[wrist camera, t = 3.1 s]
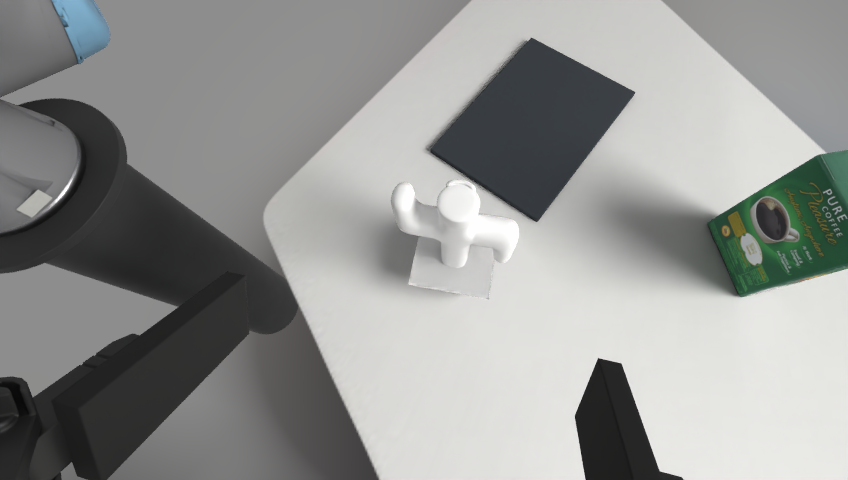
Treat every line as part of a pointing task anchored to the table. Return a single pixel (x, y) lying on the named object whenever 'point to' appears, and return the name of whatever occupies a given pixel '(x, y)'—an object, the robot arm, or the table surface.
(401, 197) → the figurine
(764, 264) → the coffee box
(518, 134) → the mat
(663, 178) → the table surface
